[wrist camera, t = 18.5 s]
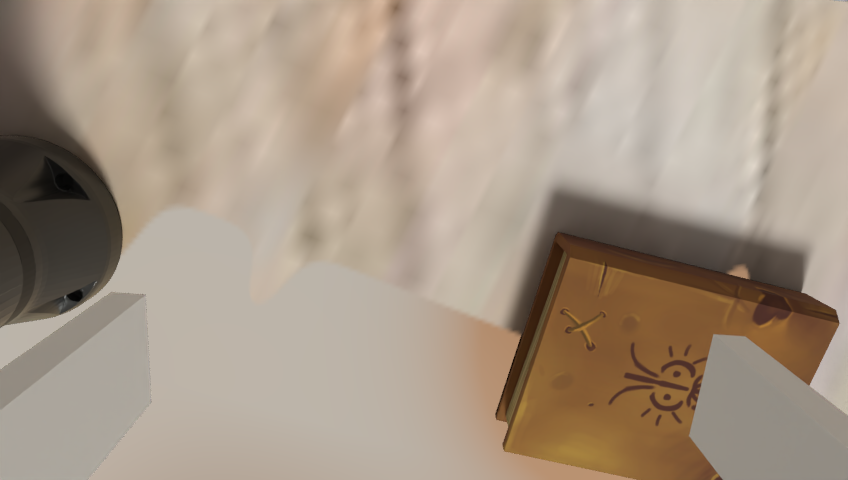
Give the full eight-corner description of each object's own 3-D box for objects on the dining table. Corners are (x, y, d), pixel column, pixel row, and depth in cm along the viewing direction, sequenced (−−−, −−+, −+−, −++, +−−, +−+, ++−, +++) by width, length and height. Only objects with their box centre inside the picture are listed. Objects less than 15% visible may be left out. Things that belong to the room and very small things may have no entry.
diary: (796, 289, 51) (844, 314, 45) (717, 461, 56) (751, 503, 50) (555, 229, 49) (574, 248, 43) (494, 414, 54) (504, 452, 48)
